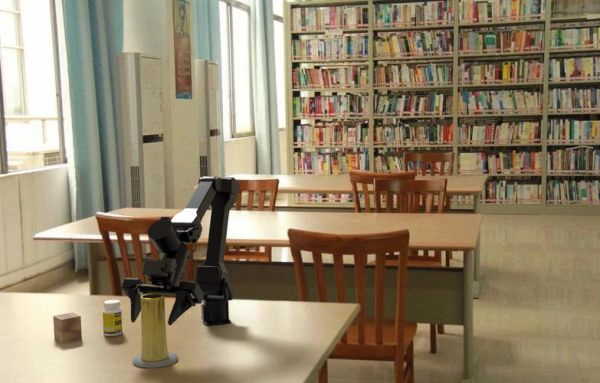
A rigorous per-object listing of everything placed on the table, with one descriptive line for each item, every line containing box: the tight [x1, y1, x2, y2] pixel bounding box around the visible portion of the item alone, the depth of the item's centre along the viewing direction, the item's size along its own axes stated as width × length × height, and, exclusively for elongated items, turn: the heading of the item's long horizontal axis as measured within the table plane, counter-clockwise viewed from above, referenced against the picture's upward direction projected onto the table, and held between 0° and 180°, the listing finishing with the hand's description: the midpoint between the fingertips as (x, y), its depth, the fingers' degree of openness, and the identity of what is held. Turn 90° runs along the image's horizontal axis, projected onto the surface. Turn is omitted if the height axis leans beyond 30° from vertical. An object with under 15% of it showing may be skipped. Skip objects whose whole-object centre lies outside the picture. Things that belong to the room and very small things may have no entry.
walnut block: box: [52, 312, 83, 344], centre depth 186 cm, size 5×5×6 cm
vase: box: [140, 293, 169, 362], centre depth 168 cm, size 6×6×14 cm
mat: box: [132, 351, 179, 369], centre depth 168 cm, size 10×10×1 cm
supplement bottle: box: [102, 299, 123, 337], centre depth 190 cm, size 5×5×8 cm
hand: (150, 323), depth 166 cm, fingers open, 9 cm apart
